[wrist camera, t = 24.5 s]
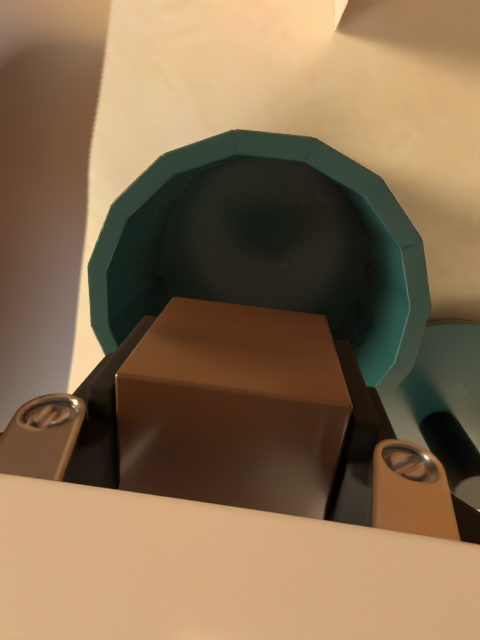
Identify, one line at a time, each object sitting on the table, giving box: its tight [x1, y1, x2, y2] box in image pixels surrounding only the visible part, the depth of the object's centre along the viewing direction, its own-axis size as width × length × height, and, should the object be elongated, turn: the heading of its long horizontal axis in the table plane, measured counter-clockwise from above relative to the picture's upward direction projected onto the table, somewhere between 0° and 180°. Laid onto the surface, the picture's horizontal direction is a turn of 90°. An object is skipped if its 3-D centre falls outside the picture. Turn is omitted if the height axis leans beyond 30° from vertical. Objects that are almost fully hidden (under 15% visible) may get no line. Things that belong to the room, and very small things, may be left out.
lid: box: [383, 320, 480, 509], centre depth 23 cm, size 15×15×7 cm
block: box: [115, 297, 353, 520], centre depth 10 cm, size 4×4×4 cm
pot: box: [88, 129, 431, 404], centre depth 20 cm, size 14×14×8 cm
